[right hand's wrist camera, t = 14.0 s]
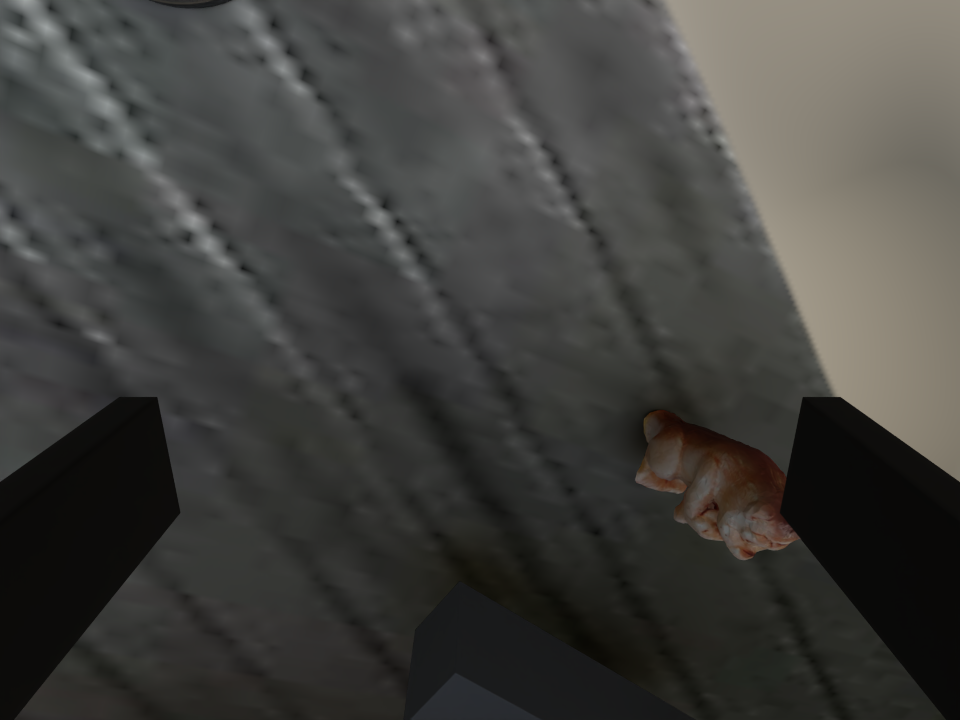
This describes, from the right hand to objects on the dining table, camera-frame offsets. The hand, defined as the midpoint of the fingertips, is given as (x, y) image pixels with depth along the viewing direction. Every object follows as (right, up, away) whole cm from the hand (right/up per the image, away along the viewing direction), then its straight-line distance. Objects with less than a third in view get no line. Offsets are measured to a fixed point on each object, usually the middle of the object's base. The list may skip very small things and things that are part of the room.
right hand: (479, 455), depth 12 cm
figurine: (+15, -3, +34) cm, 37 cm away
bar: (+7, -23, +34) cm, 42 cm away
